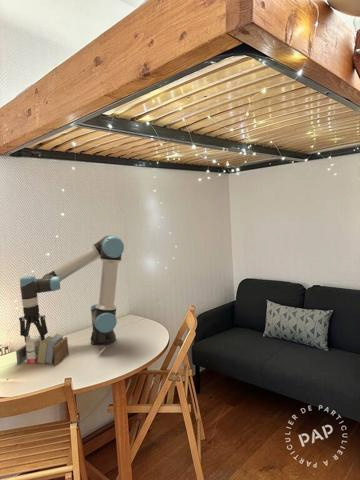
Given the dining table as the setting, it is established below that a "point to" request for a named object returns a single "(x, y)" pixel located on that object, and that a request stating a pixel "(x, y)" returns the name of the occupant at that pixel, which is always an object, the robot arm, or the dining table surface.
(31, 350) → the ink box
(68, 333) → the dining table surface
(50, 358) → the book
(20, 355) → the bookend
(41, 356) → the book
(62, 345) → the shelf
